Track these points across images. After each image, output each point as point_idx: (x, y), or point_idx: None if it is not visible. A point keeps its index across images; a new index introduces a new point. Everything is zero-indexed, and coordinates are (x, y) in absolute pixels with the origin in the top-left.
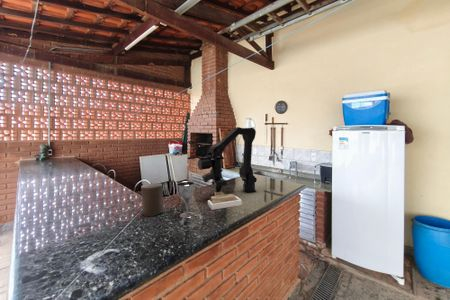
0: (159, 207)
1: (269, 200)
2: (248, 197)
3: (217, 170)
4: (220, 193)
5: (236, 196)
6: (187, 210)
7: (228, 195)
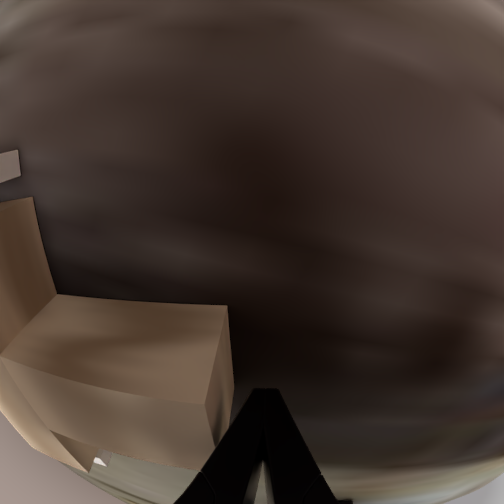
0: None
1: (114, 492)
2: (180, 487)
3: None
4: (101, 429)
5: (96, 462)
6: None
7: (31, 430)
